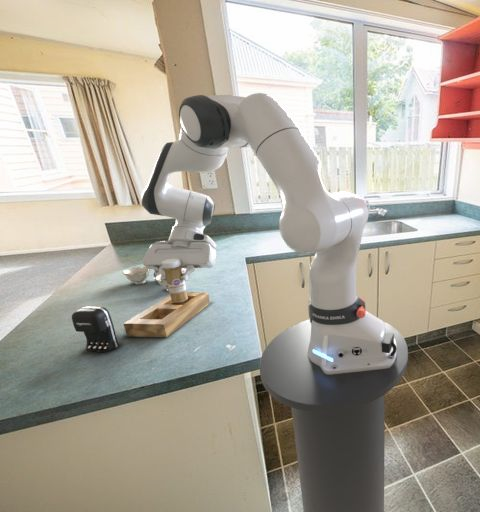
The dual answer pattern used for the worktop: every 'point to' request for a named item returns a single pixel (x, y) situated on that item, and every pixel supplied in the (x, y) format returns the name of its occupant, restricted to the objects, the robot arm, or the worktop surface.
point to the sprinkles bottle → (175, 280)
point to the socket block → (166, 316)
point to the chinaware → (145, 275)
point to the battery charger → (96, 328)
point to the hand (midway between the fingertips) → (174, 280)
